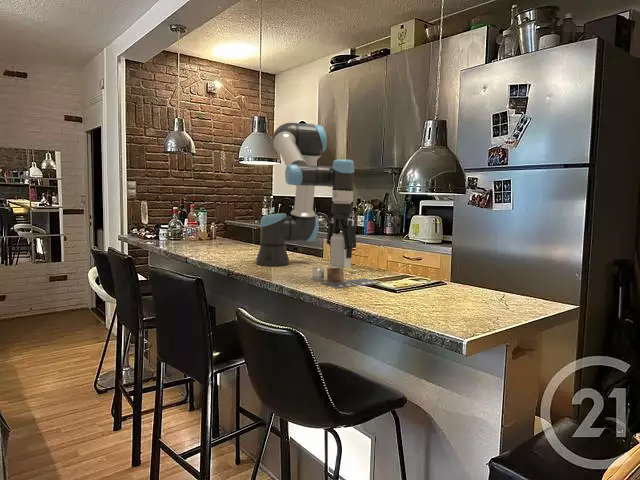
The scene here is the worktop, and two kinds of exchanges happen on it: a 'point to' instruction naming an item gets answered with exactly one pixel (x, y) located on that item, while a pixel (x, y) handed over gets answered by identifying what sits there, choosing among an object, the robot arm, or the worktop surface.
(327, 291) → the worktop surface
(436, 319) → the worktop surface
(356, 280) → the pad three
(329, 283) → the pad two
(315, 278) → the tin
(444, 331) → the worktop surface
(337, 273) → the walnut block
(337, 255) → the can
